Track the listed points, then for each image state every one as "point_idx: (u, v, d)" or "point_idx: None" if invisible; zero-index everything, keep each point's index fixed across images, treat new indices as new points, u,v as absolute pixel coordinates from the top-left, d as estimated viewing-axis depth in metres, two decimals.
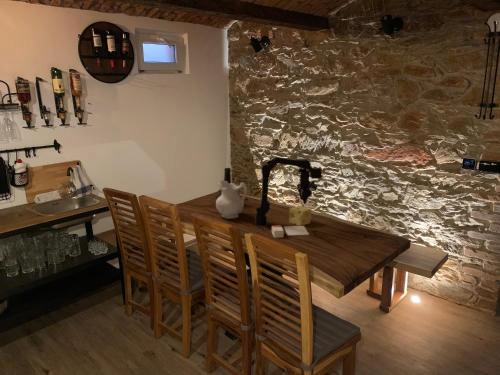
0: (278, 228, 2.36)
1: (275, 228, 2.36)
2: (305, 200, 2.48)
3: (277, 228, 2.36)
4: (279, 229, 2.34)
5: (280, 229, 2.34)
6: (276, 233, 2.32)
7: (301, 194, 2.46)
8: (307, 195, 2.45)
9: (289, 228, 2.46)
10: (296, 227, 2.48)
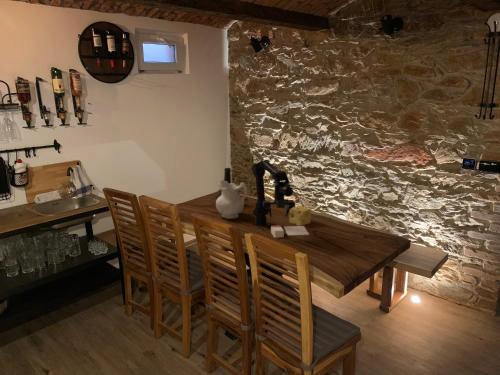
0: (278, 228, 2.36)
1: (275, 228, 2.35)
2: (269, 213, 2.33)
3: (277, 228, 2.36)
4: (279, 229, 2.34)
5: (280, 229, 2.34)
6: (276, 233, 2.32)
7: None
8: None
9: (289, 228, 2.46)
10: (296, 227, 2.48)
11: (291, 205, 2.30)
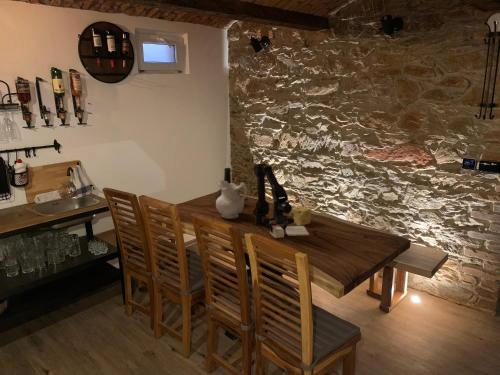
0: (278, 228, 2.36)
1: (275, 228, 2.35)
2: (270, 229, 2.36)
3: (277, 228, 2.35)
4: (279, 229, 2.34)
5: (280, 229, 2.34)
6: (277, 233, 2.32)
7: None
8: None
9: (289, 228, 2.46)
10: (296, 227, 2.48)
11: (290, 221, 2.33)
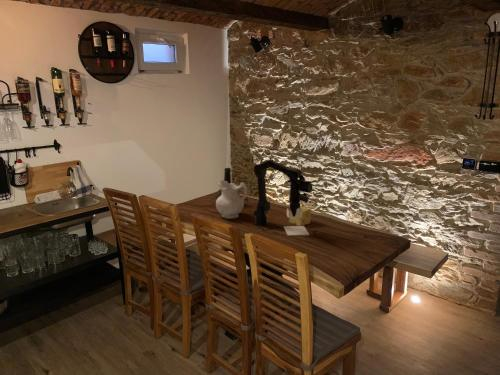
0: None
1: None
2: (294, 212, 2.35)
3: None
4: (298, 208, 2.39)
5: None
6: None
7: None
8: (295, 207, 2.31)
9: (289, 228, 2.46)
10: (296, 227, 2.48)
11: None
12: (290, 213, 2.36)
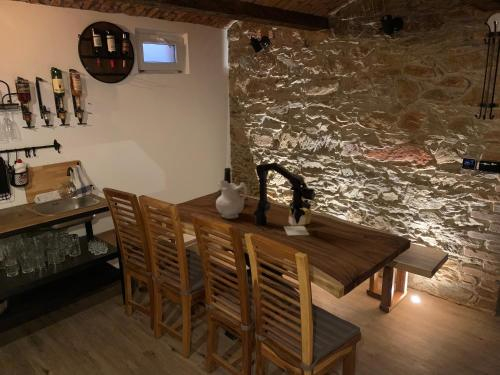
0: None
1: None
2: (298, 219, 2.37)
3: None
4: None
5: None
6: None
7: (293, 213, 2.35)
8: None
9: (289, 228, 2.46)
10: (296, 227, 2.48)
11: None
12: (294, 220, 2.38)
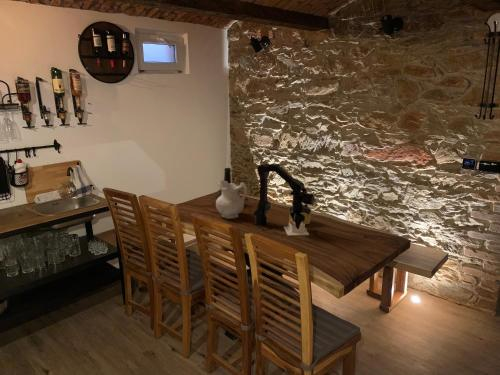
0: None
1: None
2: (298, 225, 2.36)
3: None
4: None
5: None
6: None
7: (294, 219, 2.34)
8: (300, 220, 2.33)
9: None
10: None
11: None
12: (293, 227, 2.39)
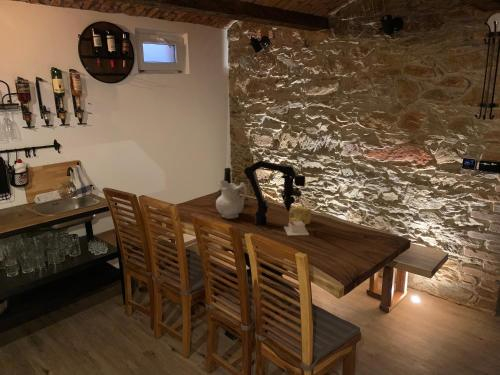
0: (297, 223, 2.43)
1: (298, 224, 2.41)
2: (288, 207, 2.44)
3: (297, 223, 2.42)
4: (299, 222, 2.43)
5: (299, 222, 2.44)
6: None
7: (284, 201, 2.42)
8: (290, 202, 2.40)
9: None
10: None
11: None
12: (293, 227, 2.39)
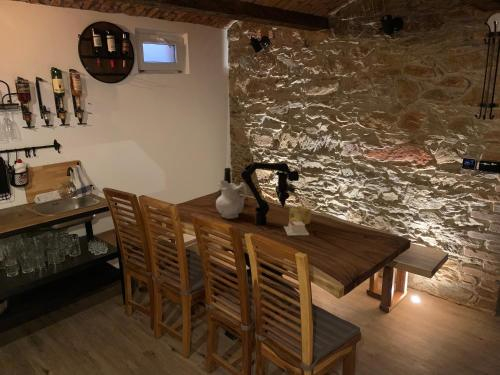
0: (297, 223, 2.43)
1: (298, 224, 2.41)
2: (283, 203, 2.50)
3: (297, 223, 2.42)
4: (299, 222, 2.43)
5: (299, 222, 2.44)
6: None
7: (279, 197, 2.48)
8: (285, 198, 2.47)
9: None
10: None
11: None
12: (293, 227, 2.39)
